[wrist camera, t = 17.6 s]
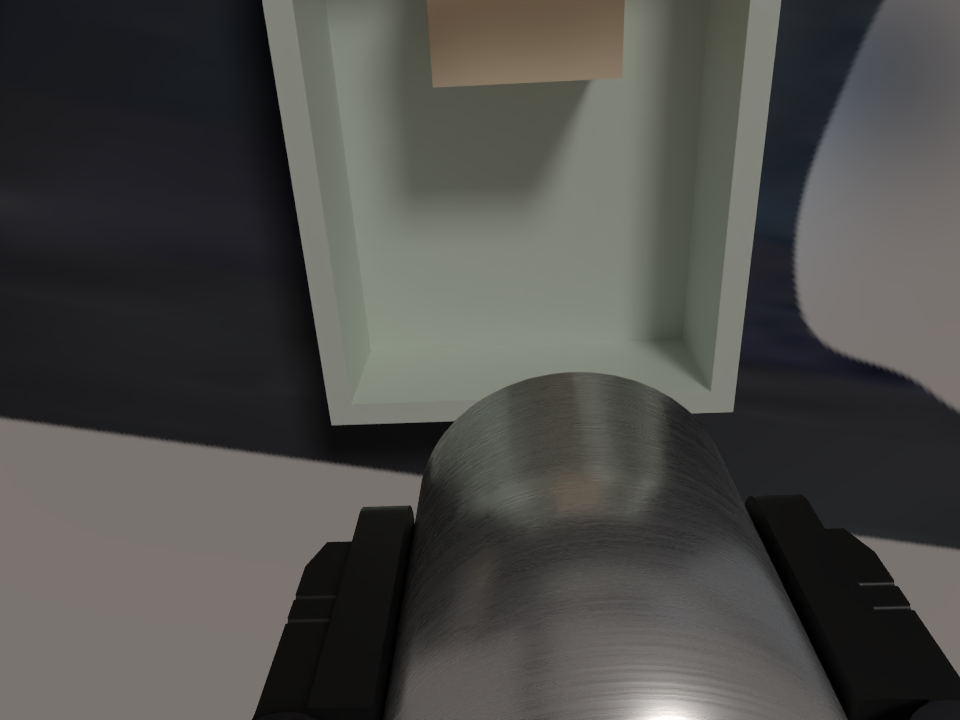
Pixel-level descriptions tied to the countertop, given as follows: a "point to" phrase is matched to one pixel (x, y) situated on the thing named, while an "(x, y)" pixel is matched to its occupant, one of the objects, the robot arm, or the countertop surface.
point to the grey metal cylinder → (593, 571)
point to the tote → (523, 206)
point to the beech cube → (524, 41)
